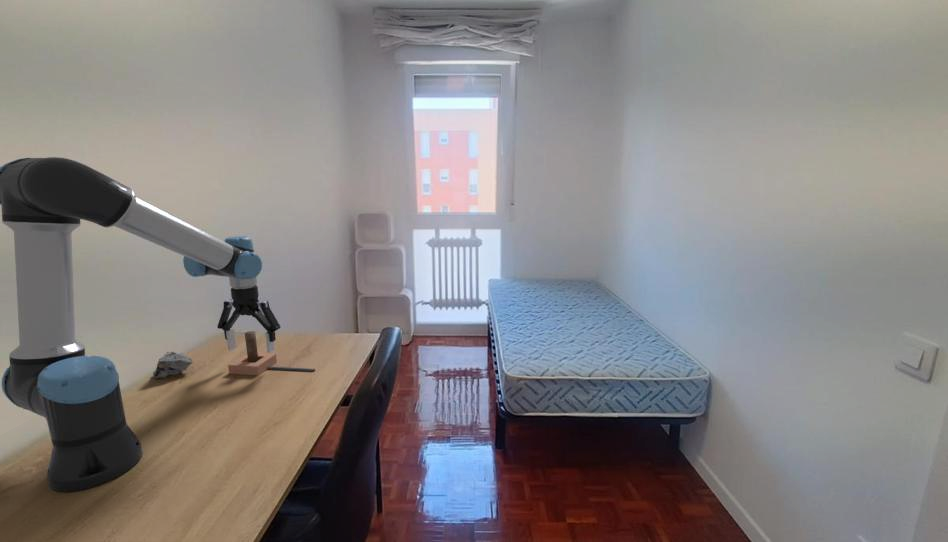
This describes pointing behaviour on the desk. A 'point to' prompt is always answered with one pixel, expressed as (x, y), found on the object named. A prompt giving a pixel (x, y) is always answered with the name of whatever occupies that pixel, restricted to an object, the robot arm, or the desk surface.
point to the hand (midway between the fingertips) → (251, 350)
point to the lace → (290, 368)
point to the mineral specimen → (171, 364)
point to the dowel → (251, 346)
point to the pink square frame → (252, 364)
